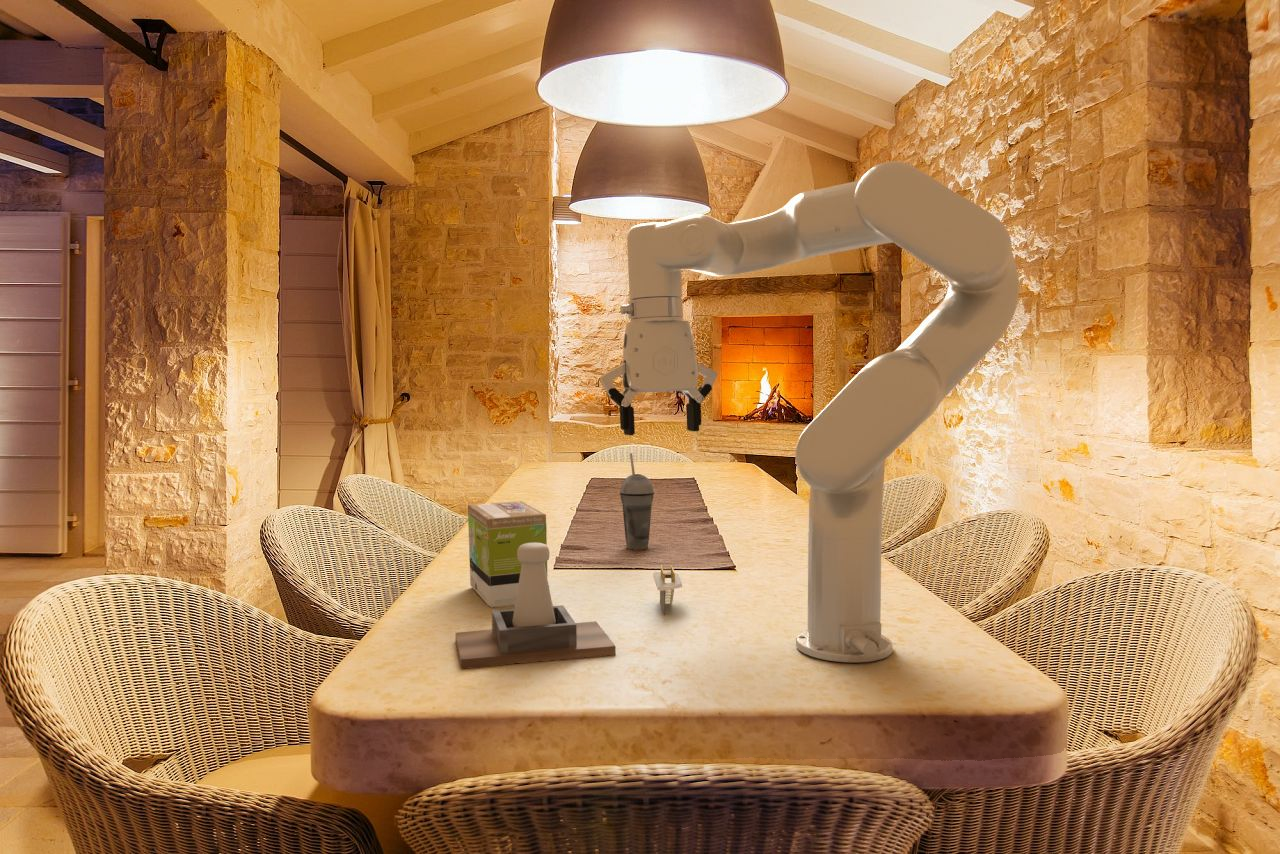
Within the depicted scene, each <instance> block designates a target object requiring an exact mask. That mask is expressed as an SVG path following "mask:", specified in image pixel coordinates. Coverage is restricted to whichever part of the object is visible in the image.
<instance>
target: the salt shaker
mask: <svg viewBox="0 0 1280 854" xmlns="http://www.w3.org/2000/svg"><path fill="white" fill-rule="evenodd" d="M517 558H518V560H519V562H522V566H521V572H520V578H519V584H518V590H517V596H516V602H515V605H514V608H513V609H514V615H513V621H512V622H513V626H514V627H524V626H537V625H550V624H555V623H556V619H555V614H554V609H553V606H554V605H553V600H552V596H551V591H550V585H549V580H548V572H547V573H546V568H545V562H546V561H547V562H548V561H549V560H550V547H549V546H548V544H547V545H546V544H543V543H526V544H522V545H521V546H520V547H519V548H518V551H517Z"/></svg>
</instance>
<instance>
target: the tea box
mask: <svg viewBox="0 0 1280 854" xmlns="http://www.w3.org/2000/svg"><path fill="white" fill-rule="evenodd" d="M467 523H468V552H469V553H468V556H469V557H468V558H469V581H470V582H469V583H470V586H471V588H472V589H473V590H474V591H475V592H476V594H478V596H479V597H480V598H481V599H482V600H483V601H484V602H485V603H486V604H487V606H490V607H489V608H491V609H492V608H493V607H495V608H501V607H511V606H515V602H516V596H517V590H518V584H519V578H520V572H521V566H522V562H519V560H518V558H517V551H518V548H519V547H520V546H521V545H522V544H526V543H543V544H546V545H547V546H548V544H547V542H548V541H547V533H548V531H547V530H548V529H547V515H546V513H543V512H542V511H540V510H538V509H536V508H535V507H533V506H531V505H529V504H527V503H525V502H524V501H522V500H517V501H502V502H501V501H500V502H490V503H481V504H468V506H467ZM545 568H546V573H547V574H548V561H546V562H545ZM493 609H494V608H493Z"/></svg>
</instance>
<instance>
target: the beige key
mask: <svg viewBox="0 0 1280 854" xmlns="http://www.w3.org/2000/svg"><path fill="white" fill-rule="evenodd" d="M664 567H667V571H665V570H664ZM674 570H675V569H674V568H673V566H672V565H671V564H664V565H660V571H656V572H653V574H652V575H653V576H652V577H653V579H654V583H655V586H656V589H657V591H659V604H660V607H661V610H662V612H663V615H664V616H666V605H667V604H668V605H670V606H671V605H672V604H673V601H674V593H675V589H679V588H682V587H683V582H682V580H681V577H680V576H679V574H678V573H676V572H675V571H674ZM666 579H670V581H671V582H666Z"/></svg>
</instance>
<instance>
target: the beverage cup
mask: <svg viewBox="0 0 1280 854" xmlns="http://www.w3.org/2000/svg"><path fill="white" fill-rule="evenodd" d="M629 458H630V467H631V473H632V474H630V475H629V476H627V477H626V478H625V479H624V480H623V482H622V483H621V486H620V492H619V495H620V502H621V505H622V515H623V517H622V518H623V527H624V537H625V543H626V548H627V550H632V549H633V551H634V550H636V551H637V550H638V551H639V550H642V551H643V550H646V549H649V542H650V534H651V520H652V506H653V505H652V504H653V501H654V495H655V492H654V486H653V484H652V482H651V480H650V479H649V478H648V477H647V476H645V475H643V474H639V473H637V474H636V471H635V466H634V464H635V463H634V458H633V453H632V452H631V453H629Z"/></svg>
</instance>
